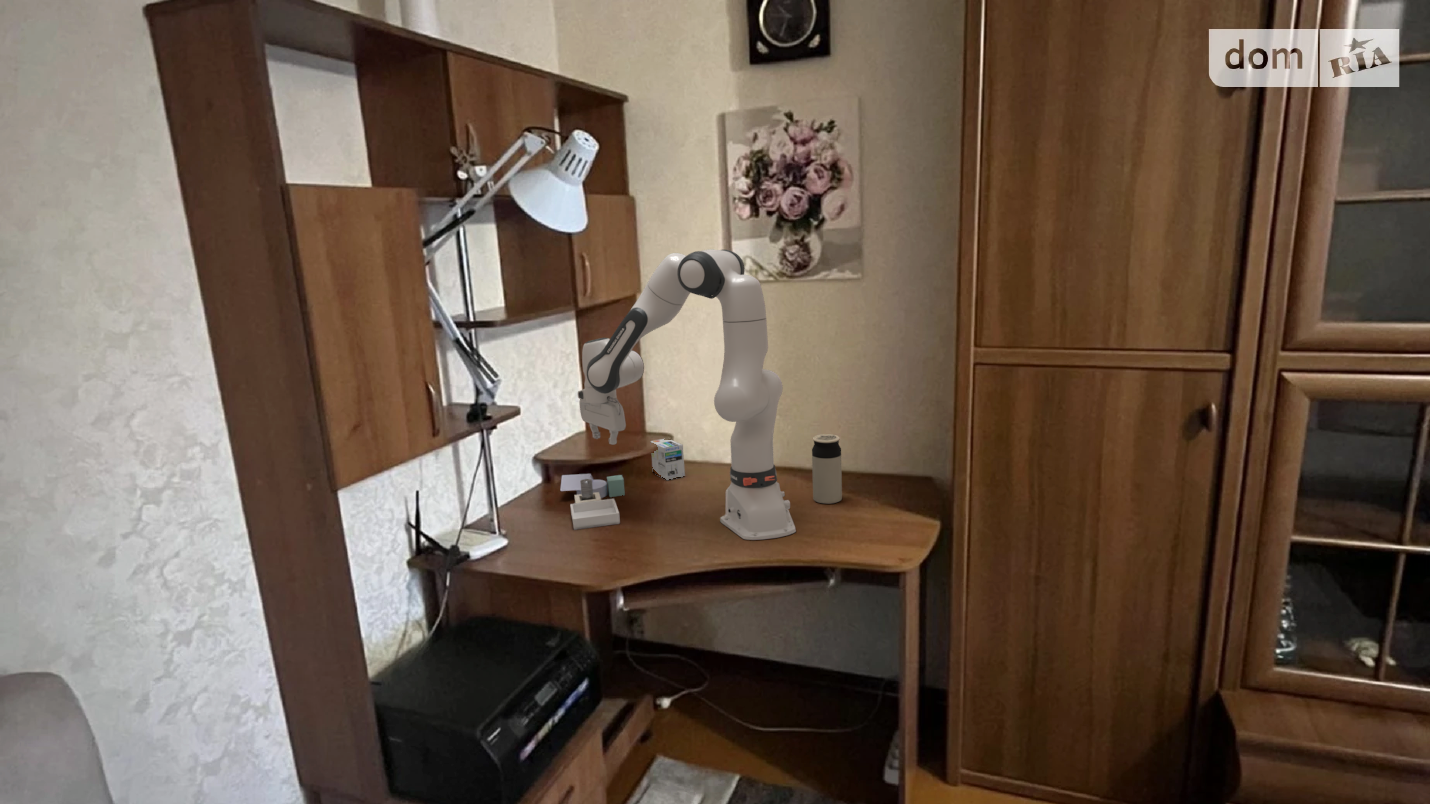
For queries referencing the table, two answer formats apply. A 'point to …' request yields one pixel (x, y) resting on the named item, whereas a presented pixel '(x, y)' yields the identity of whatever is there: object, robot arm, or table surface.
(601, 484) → the wedge on round base
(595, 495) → the socket block
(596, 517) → the tray
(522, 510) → the table surface
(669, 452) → the light bulb box
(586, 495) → the pin
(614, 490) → the block
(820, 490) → the travel mug
